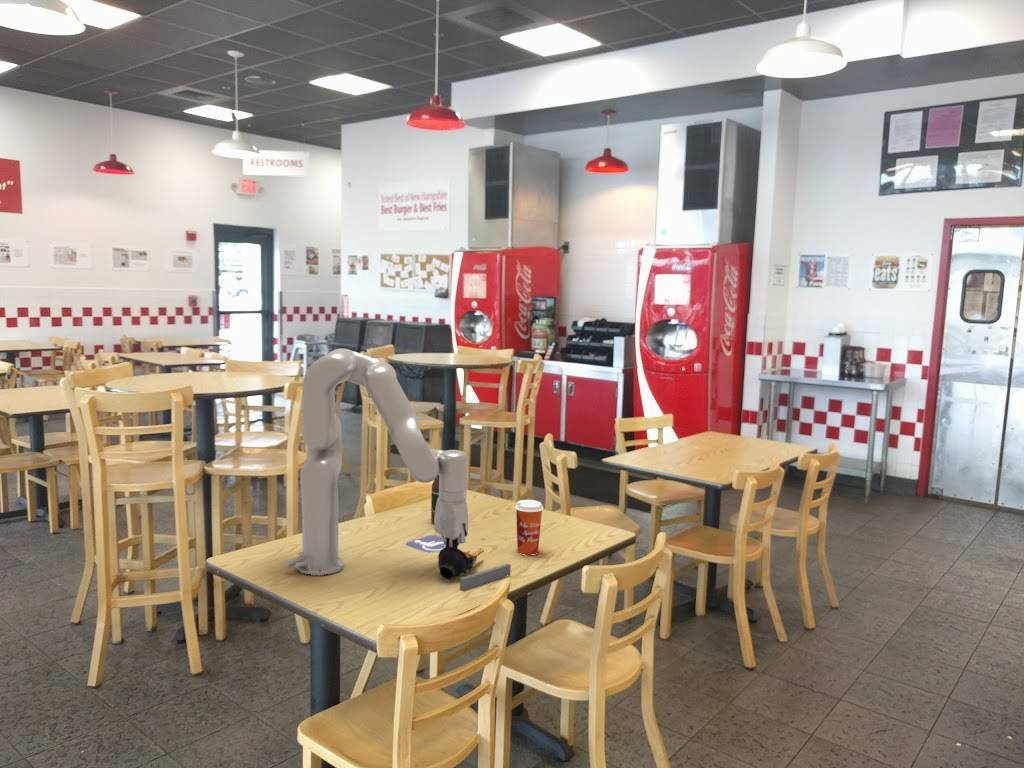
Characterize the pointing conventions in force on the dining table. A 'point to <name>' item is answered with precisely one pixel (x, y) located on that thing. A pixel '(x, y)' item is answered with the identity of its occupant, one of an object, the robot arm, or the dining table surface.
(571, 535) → the dining table surface
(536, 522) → the coffee cup
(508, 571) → the rail
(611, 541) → the dining table surface
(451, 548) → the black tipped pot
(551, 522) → the dining table surface
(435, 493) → the beer bottle
